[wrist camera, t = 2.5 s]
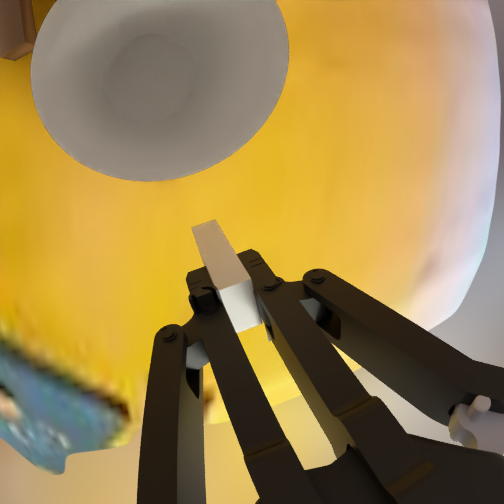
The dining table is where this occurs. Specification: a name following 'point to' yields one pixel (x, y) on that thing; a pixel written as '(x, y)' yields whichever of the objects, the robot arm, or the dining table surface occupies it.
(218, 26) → the cup
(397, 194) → the dining table surface
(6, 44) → the walnut pocket
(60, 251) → the dining table surface
